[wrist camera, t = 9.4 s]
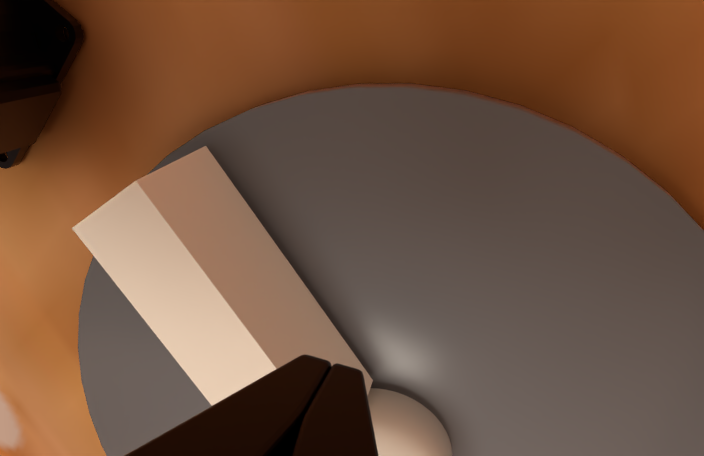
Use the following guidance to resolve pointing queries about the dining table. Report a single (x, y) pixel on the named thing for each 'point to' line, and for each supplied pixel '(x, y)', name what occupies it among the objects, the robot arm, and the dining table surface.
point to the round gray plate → (450, 274)
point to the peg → (229, 293)
